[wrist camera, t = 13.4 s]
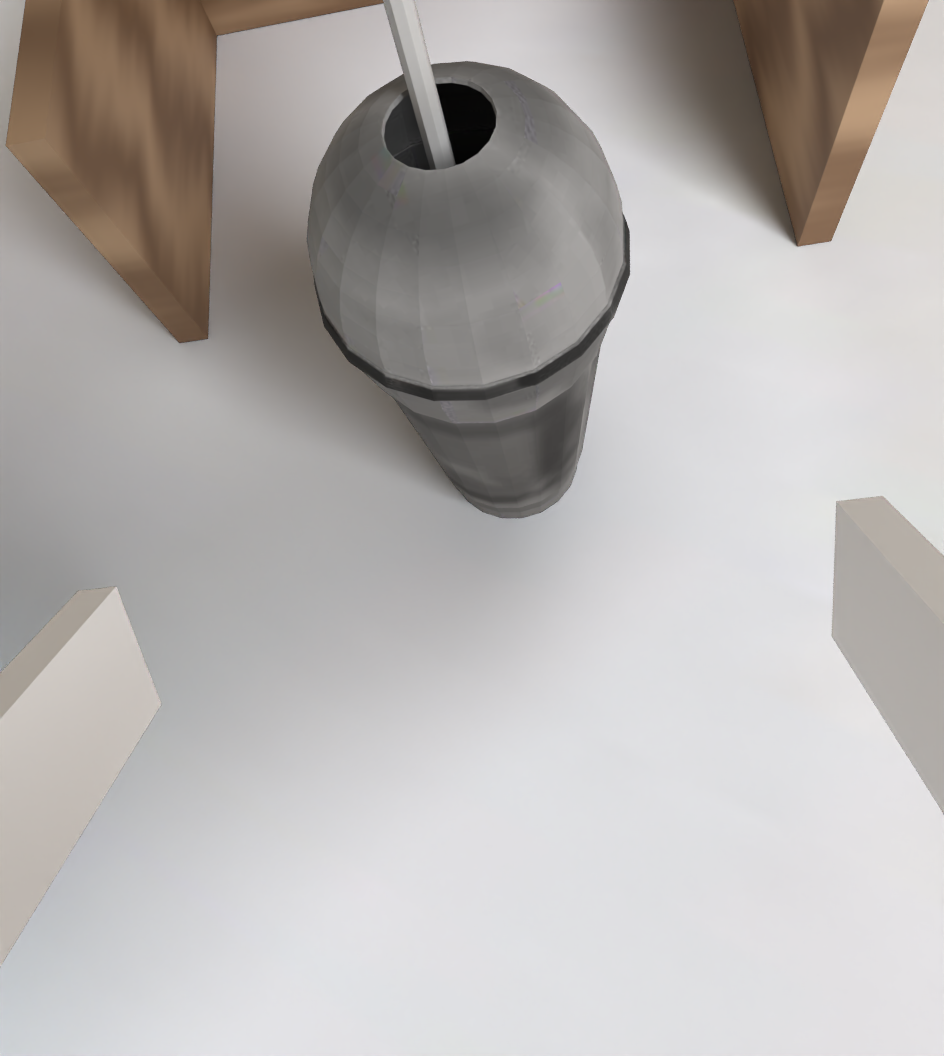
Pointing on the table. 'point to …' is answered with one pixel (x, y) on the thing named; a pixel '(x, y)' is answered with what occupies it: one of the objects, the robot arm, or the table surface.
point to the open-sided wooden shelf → (245, 3)
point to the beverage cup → (472, 266)
